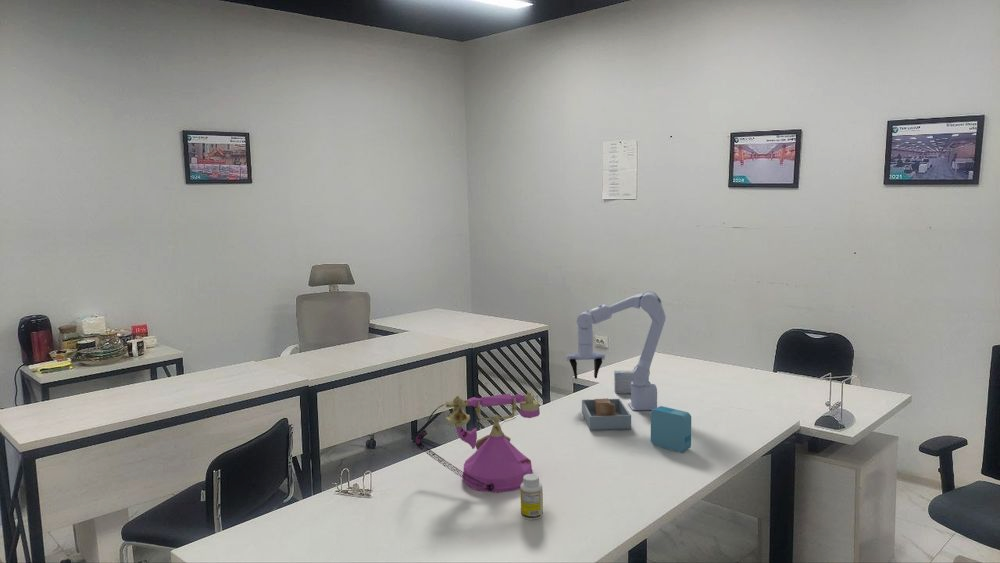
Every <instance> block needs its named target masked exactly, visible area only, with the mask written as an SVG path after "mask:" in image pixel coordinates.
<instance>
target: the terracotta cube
mask: <svg viewBox="0 0 1000 563" xmlns="http://www.w3.org/2000/svg"><path fill="white" fill-rule="evenodd" d="M594 399H595V413H596V415H597V416H601V404H602V403H611V402H610V401H609V399H610V398H607V397H606V398H594Z"/></svg>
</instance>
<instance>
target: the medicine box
mask: <svg viewBox="0 0 1000 563" xmlns="http://www.w3.org/2000/svg"><path fill="white" fill-rule="evenodd" d="M613 373H614V378H613V379H614V383H613V384H614V393H615V394H631V382H632V374H633V370H631V369H630V370H622V369H621V370H614V372H613Z"/></svg>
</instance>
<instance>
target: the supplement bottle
mask: <svg viewBox="0 0 1000 563" xmlns="http://www.w3.org/2000/svg"><path fill="white" fill-rule="evenodd" d="M519 489H520V493H519V494H520V515H521V517H522V518H524V519H525V520H528V521H536V520H539V519H541V518H542V517H543V514H544V506H543V504H544V502H543V501H544V499H543V495H544V494H543V485H542V483H541V482H540V476H539V475H538V474H536V473H534V474H526V475H524V476H523V483H522V484H521V486H520V488H519Z"/></svg>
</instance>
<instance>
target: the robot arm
mask: <svg viewBox="0 0 1000 563" xmlns="http://www.w3.org/2000/svg"><path fill="white" fill-rule="evenodd" d="M640 307H641V309H642V310H643V311H644V312H646V314H648V316H649V317H650V319H651V324H650V326H649V329H648V333H647V334H646V338H645V342H644V345H643V348H642V351H641V354H640V357H639V360H638V363H637V364H636V365H635V366H634V368H633V370H632V371H633V374H632V382H631V393H630V402H628V403H627V404H628V406H629V407H630V408H631V410H632V411H652V410H653V409H655V408H657V407H658V388H657V385H656V384H655V383H651V382H650V381H649V380H650V379H649V378H650V375H651V372H650V369H651V365H652V362H653V359H654V356H655V352H656V349H657V346H658V343H659V341H660V337H661V334H662V330H663V328H664V325H665V323H666V313H665V309H664V308H663V304H662V300H661V298H660V297H659V296H658V294H657V293H656V292H654V291H651V290H650V291H649V290H648V291H645V292H644V293H643V292H641V293H637V294H634V295H632V296H629V297H627V298H624V299H622V300H620V301H618V302H615V303H613V304H611V305H608V304H605V303H604V304H602V303H600V304H598V306H597V307H594V308H592V309H590V308H588V309H587V310H586V311H583V312H581V313H580V314H579V315H578V316H577V318H576V324H577V330H578V331H577V353H571V354H570V353H569V354H566V357H565V358H566V361H568V362H569V363H570V366H571V368H572V370H573V376H574V379H577V380H578V372H577V366H578V362H577V361H581V360H586V361H587V360H588V361H589V360H593V365H594V366H593V367H594V372H593V377H594V379H597V378H598V374H599V370H600V368H601V366H602V364H603V360H605V358H606V357H605V353H599V352H598V353H597V352H596V353H595V352H594V343H593V342H594V338H593V337H594V334H593V333H594V332H593V325H597V324H599V323H600V324H601V323H602V322H604V321H605V322H606V321H607V320H610V319H611V318H612V316H613V314H616V313H619V312H622V311H625V310H628V309H631V308H635V309H638V310H640Z"/></svg>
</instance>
